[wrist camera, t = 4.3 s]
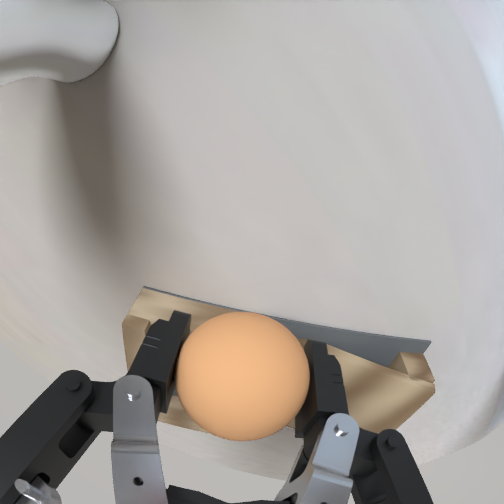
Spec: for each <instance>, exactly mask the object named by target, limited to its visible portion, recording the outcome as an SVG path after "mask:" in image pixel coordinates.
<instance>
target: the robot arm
mask: <svg viewBox="0 0 504 504" xmlns="http://www.w3.org/2000/svg"><path fill="white" fill-rule="evenodd" d="M190 324H191V314H188V313H184V312H181V311H177V310H174V311H173V313H172V315H171V317H170V320H169V321H166V320H163V319H158V320H157V321H156V322H154V323H153V324H152V325H151V326H150V328H149V330H148V332H147V334H146V337H145V338H144V340H143V342H142V344H141V346H140V348H139V350H138V352H137V354H136V356H135V359H134V361H133V363H132V365H131V367H130V369H129V371H128V373H127V374H126V375H125V376H123V377H121V378H120V379H119V380H117V381H114V382H98V381H91V380H90V379H89V377H88V376H87V375H86V374H85V373H83V372H81V371H78V370H69V371H66V372H64V373H62V374H61V375H60V376H59V377H58V378H57V379H56V380H55V381H54V382H53V383H52V384H51V385H50V386H49V387H48V388H47V389H46V390H45V391H44V392H43V393H42V394H41V395H40V396H39V397H38V398H37V399H36V400H35V401H34V402H33V403H32V404H31V405H30V407H29V408H28V409H27V410H26V411H25V412H24V413H23V414H22V415H21V416H20V417H19V418H18V419H17V420H16V421H15V422H14V423H13V425H12V426H11V427H10V428H9V429H8V430H7V431H6V432H5V433H4V434H3V435H2V436H1V438H0V504H61V503H62V502H61V498H60V495H59V494H58V492H57V491H56V488H57V487H58V486H59V484H60V483H61V482H62V481H63V479H64V478H65V477H66V475H67V474H68V473H69V472H70V470H71V469H72V468H73V466H74V465H75V464H76V463H77V461H78V460H79V459H80V458H81V456H82V455H83V454H84V452H85V451H86V450H87V449H88V447H89V446H90V444H92V442H93V441H94V440H95V438H96V437H97V436H98V435H99V433H100V432H101V431H108V432H113V435H114V436H113V441H112V443H111V460H112V473H113V484H114V493H115V501H116V504H347V503H348V499H349V496H350V493H352V495H353V498H354V501H355V504H433V502H432V499H431V496H430V494H429V492H428V489H427V487H426V485H425V483H424V480H423V478H422V476H421V474H420V471H419V469H418V467H417V465H416V463H415V460H414V458H413V456H412V454H411V452H410V450H409V448H408V445H407V443H406V441H405V439H404V437H403V436H402V434H401V433H399V432H398V431H396V430H394V429H385V430H383V431H381V432H380V433H379V434H377V433H374V432H371V431H368V430H365V429H362V428H360V427H359V426H358V424H357V422H356V421H355V419H354V418H352V417H351V416H350V415H349V411H348V405H347V399H346V393H345V387H344V385H343V383H344V382H343V377H342V371H341V365H340V363H339V362H338V360H337V359H336V357H335V355H329V354H328V350H327V344H326V342H322V341H316V340H310V339H309V340H307V342H306V344H305V346H304V348H303V349H304V352H305V354H306V357H307V360H308V365H309V370H310V384H309V390H308V394H307V397H306V399H305V402H304V404H303V406H302V408H301V409H300V411H299V413H298V414H297V415H296V416H295V438H304V445H303V446H302V447H301V449H300V451H299V453H298V456H297V458H296V460H295V463H294V465H293V467H292V470H291V472H290V474H289V476H288V479H287V481H286V483H285V485H284V486H283V488H282V489H281V490H280V491H279V493H278V494H277V496H276V498H275V500H274V501H267V500H266V501H265V500H259V501H251V502H242V503H226V502H223V501H221V500H219V499H216V498H213V497H211V496H208V495H206V494H204V493H201V492H199V491H193V490H189V489H184V488H180V487H176V486H172V485H169V488H168V489H165V483H164V478H163V472H162V465H161V460H160V453H159V445H158V437H157V429H156V423H157V420H158V417H159V414H160V412H161V413H165V414H167V411H168V407H169V404H170V401H171V398H172V394H173V391H174V388H175V379H174V373H175V366H176V362H177V358H178V354H179V351H180V349H181V347H182V345H183V344H184V342H185V341H186V339H187V338H188V336H189V333H190Z"/></svg>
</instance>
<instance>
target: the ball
mask: <svg viewBox="0 0 504 504" xmlns="http://www.w3.org/2000/svg"><path fill="white" fill-rule="evenodd" d="M174 379H175V388H176V392H177V395H178V398H179V401H180V403H181V405H182V407H183V408H184V410H185V411H186V413H187V414H188V415H189V417H190V418H191V419H192V420H193V421H194V422H195V423H196V424H197V425H198V426H200V427H201V428H203V429H204V430H206V431H207V432H209V433H211V434H213V435H215V436H218V437H221V438H224V439H228V440H234V441H250V440H257V439H261V438H264V437H267V436H270V435H272V434H274V433H276V432H278V431H279V430H281V429H283V428H284V427H285V426H286V425H288V424H289V423H290V422H291V421H292V420H293V419H294V418H295V416H296V415H297V414H298V413H299V411H300V409H301V408H302V406H303V404H304V402H305V399H306V397H307V394H308V390H309V384H310V370H309V365H308V360H307V357H306V354H305V352H304V349H303V348H302V346H301V344H300V343H299V341H298V339H297V338H296V337H295V336H294V335H293V334H292V333H291V332H290V330H288V329H287V328H286V327H285V326H284V325H282V324H280V323H279V322H277V321H276V320H274V319H272V318H270V317H267V316H265V315H261V314H257V313H252V312H231V313H226V314H222V315H219V316H216V317H214V318H211V319H209V320H208V321H206V322H204V323H203V324H201V325H200V326H199V327H197V328H196V329H195V330H194V331H193V332H192V333H191V334H190V335H189V336H188V338H187V339H186V341H185V342H184V344H183V345H182V347H181V349H180V351H179V354H178V358H177V362H176V366H175V373H174Z"/></svg>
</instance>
